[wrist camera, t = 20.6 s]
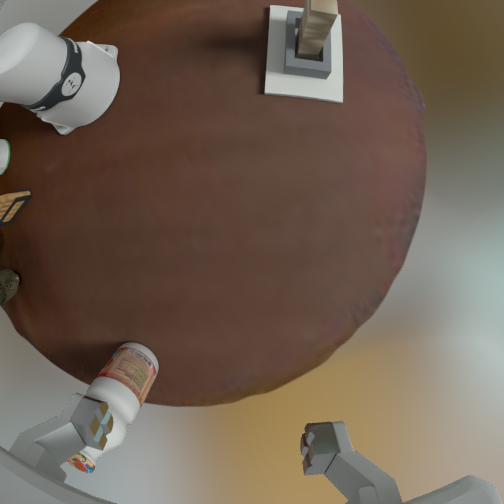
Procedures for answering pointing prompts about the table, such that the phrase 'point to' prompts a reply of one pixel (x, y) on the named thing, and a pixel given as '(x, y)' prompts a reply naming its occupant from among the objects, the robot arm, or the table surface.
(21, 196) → the ammunition clip
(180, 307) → the table surface
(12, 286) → the dark grey rounded lump
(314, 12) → the slat
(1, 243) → the beer glass
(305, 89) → the stand
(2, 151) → the cup
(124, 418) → the fruit juice
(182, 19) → the table surface
